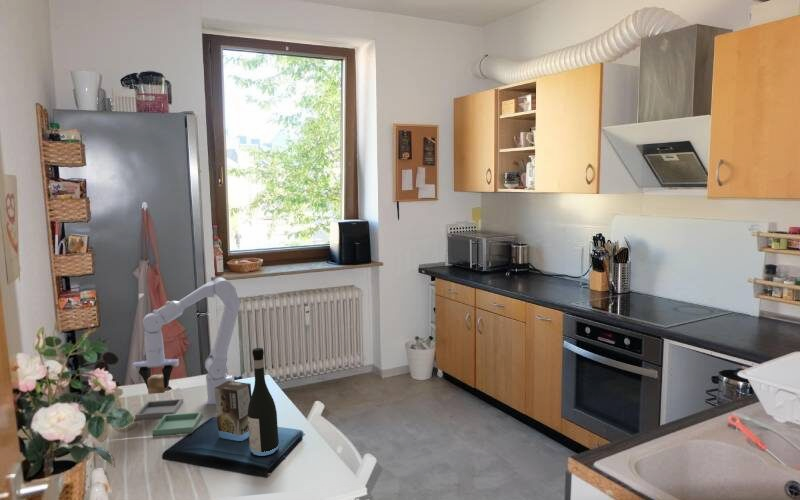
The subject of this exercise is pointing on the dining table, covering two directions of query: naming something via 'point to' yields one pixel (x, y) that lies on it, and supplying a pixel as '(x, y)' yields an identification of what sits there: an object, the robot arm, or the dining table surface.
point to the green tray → (177, 424)
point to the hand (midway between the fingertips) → (158, 387)
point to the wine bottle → (261, 410)
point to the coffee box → (232, 407)
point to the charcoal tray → (158, 409)
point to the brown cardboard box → (156, 384)
